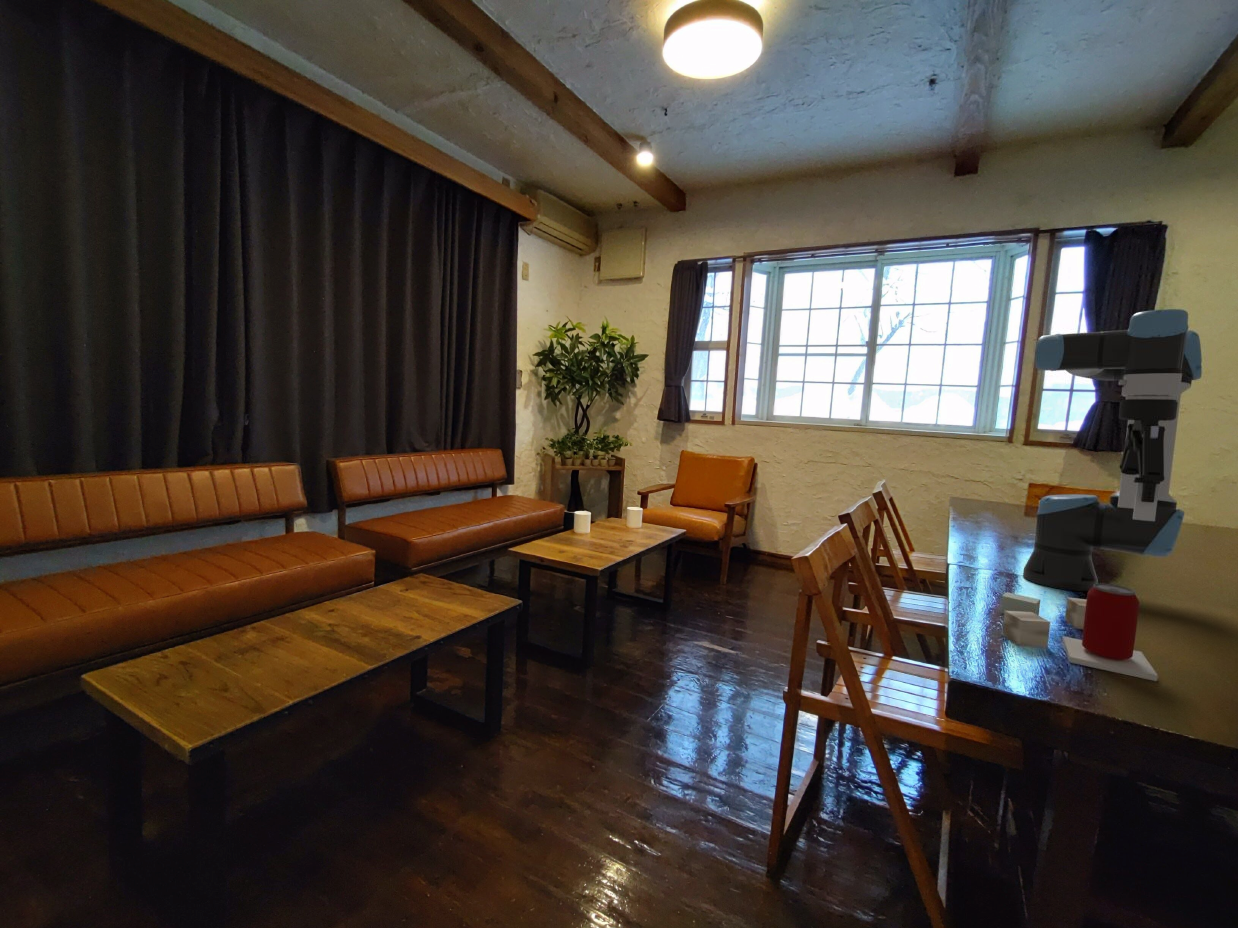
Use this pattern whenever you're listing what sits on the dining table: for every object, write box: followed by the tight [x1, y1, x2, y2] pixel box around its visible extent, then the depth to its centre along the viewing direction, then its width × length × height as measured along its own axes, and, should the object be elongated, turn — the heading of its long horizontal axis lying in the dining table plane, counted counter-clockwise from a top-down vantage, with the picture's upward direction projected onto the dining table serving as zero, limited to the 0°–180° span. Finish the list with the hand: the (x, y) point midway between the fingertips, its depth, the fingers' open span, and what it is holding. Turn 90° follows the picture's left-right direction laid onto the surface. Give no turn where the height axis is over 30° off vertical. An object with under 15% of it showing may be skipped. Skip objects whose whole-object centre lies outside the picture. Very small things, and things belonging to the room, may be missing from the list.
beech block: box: [1064, 596, 1087, 630], centre depth 111 cm, size 5×5×5 cm
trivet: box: [1061, 635, 1159, 682], centre depth 95 cm, size 11×11×1 cm
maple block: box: [1002, 611, 1051, 649], centre depth 102 cm, size 5×5×5 cm
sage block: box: [999, 591, 1041, 616], centre depth 117 cm, size 4×6×4 cm, turn 42°
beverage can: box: [1081, 582, 1140, 660], centre depth 95 cm, size 7×7×12 cm
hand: (1134, 513), depth 100 cm, fingers open, 13 cm apart
